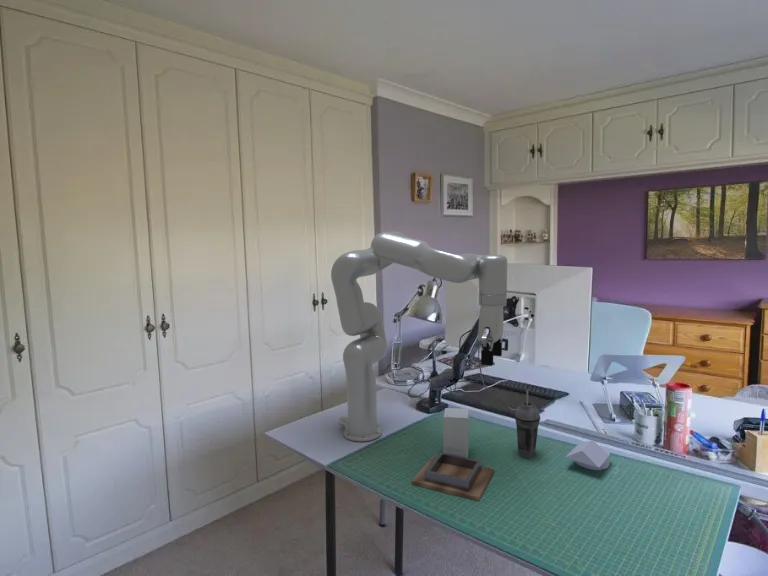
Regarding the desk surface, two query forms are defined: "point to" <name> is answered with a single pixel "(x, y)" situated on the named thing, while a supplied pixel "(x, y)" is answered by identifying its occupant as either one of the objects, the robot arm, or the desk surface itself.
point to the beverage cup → (527, 428)
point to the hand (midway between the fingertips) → (491, 360)
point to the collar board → (454, 476)
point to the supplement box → (456, 431)
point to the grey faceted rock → (590, 456)
